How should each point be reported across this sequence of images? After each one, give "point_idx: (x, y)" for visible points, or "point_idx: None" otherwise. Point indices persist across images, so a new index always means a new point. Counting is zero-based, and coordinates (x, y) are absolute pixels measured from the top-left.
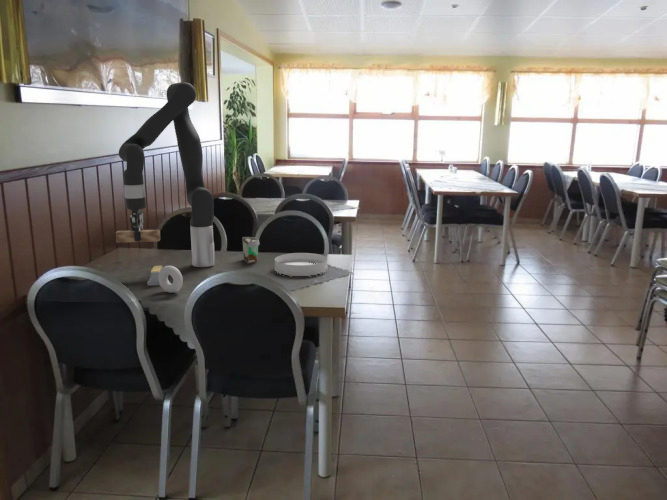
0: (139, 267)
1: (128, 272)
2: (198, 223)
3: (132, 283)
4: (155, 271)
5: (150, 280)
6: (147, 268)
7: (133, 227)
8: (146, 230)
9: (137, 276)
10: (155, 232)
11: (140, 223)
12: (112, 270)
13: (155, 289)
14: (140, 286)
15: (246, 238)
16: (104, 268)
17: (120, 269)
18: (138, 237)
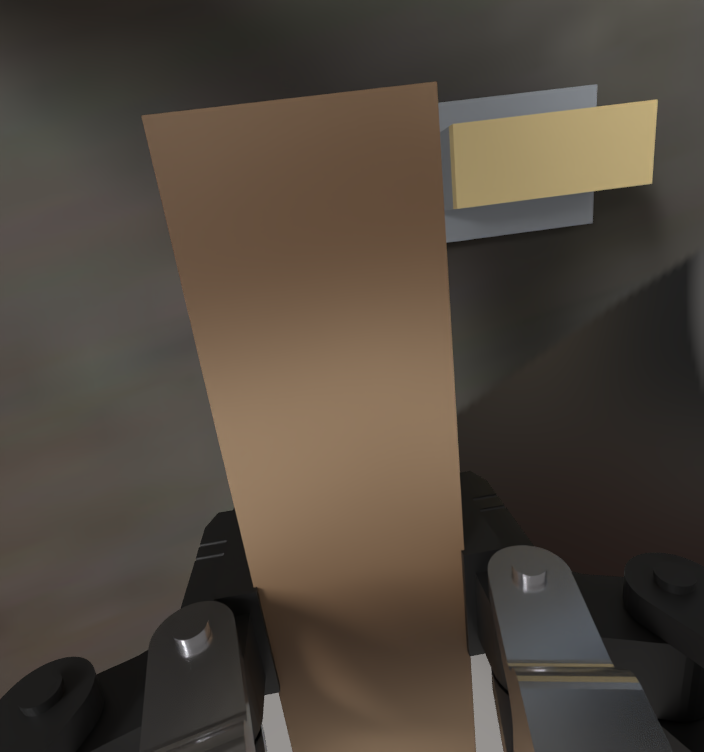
0: (76, 450)
1: None
2: None
3: (508, 348)
4: (653, 137)
5: (561, 209)
6: (96, 381)
7: (675, 736)
8: (304, 469)
9: None
10: (436, 181)
11: (656, 720)
12: None
13: (678, 132)
14: (587, 269)
15: None
16: (142, 649)
17: (154, 551)
18: (498, 497)
